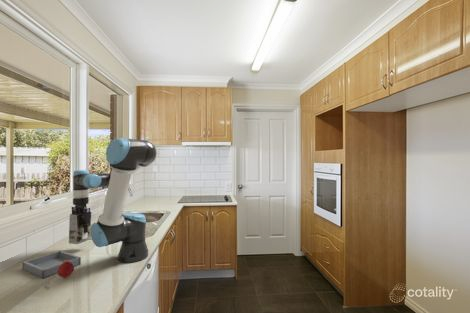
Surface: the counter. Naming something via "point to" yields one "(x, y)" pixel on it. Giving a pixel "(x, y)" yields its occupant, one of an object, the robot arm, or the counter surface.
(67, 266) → the onion
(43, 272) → the tray
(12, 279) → the counter surface
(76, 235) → the coffee box
